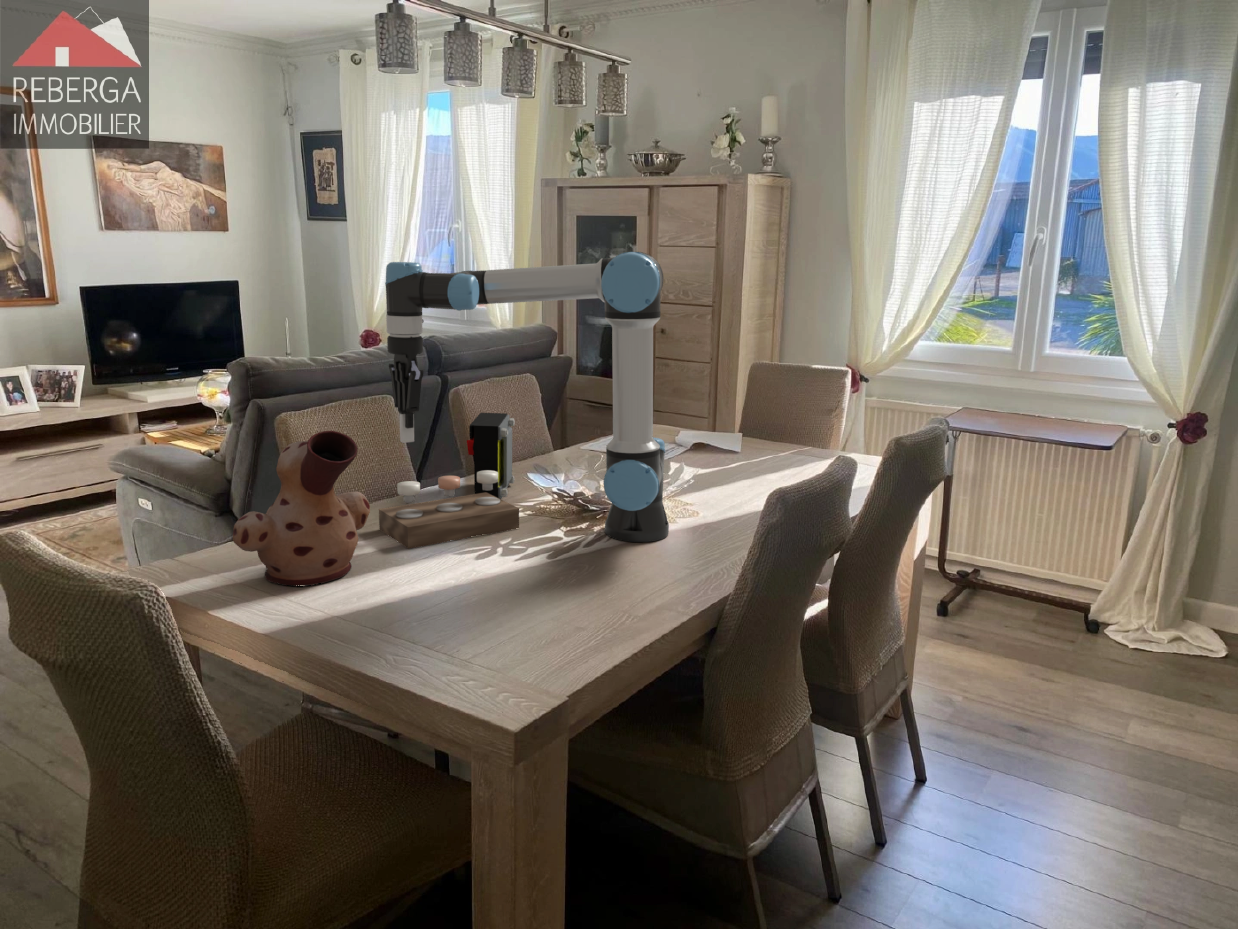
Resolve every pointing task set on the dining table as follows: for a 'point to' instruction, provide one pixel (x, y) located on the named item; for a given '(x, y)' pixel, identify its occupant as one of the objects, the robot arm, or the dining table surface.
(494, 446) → the electrical component
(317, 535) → the vessel
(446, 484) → the middle knob
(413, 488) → the left knob
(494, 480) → the right knob
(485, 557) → the dining table surface
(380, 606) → the dining table surface
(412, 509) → the knob bar
